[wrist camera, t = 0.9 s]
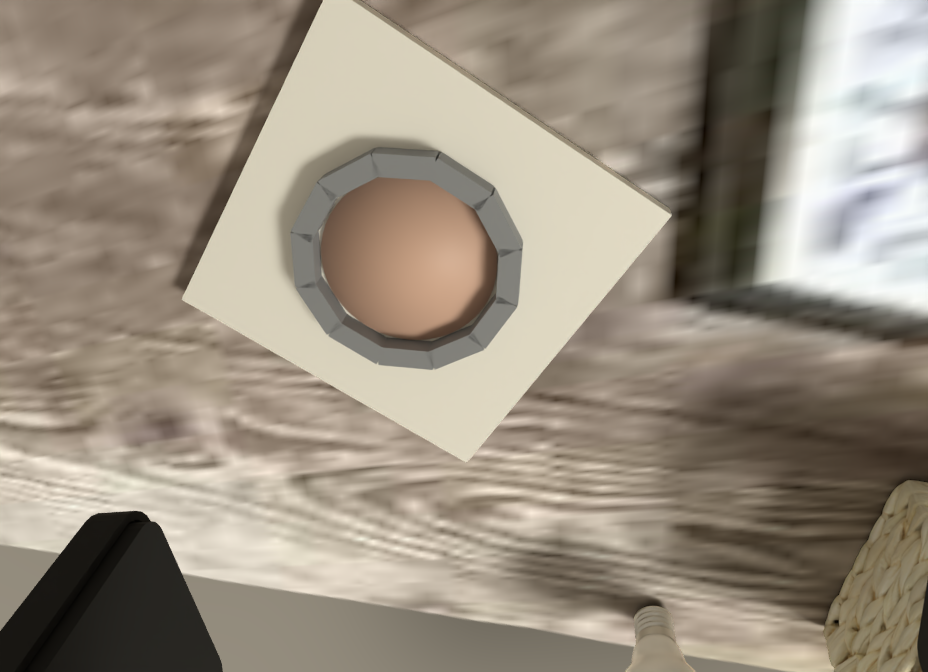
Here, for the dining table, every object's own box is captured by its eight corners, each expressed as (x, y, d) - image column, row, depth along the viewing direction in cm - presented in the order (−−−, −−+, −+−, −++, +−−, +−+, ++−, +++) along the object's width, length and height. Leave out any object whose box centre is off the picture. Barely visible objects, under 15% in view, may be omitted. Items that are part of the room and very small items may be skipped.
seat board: (335, -17, 36) (322, -13, 34) (669, 208, 40) (674, 223, 38) (189, 292, 46) (172, 308, 44) (468, 453, 49) (464, 475, 47)
